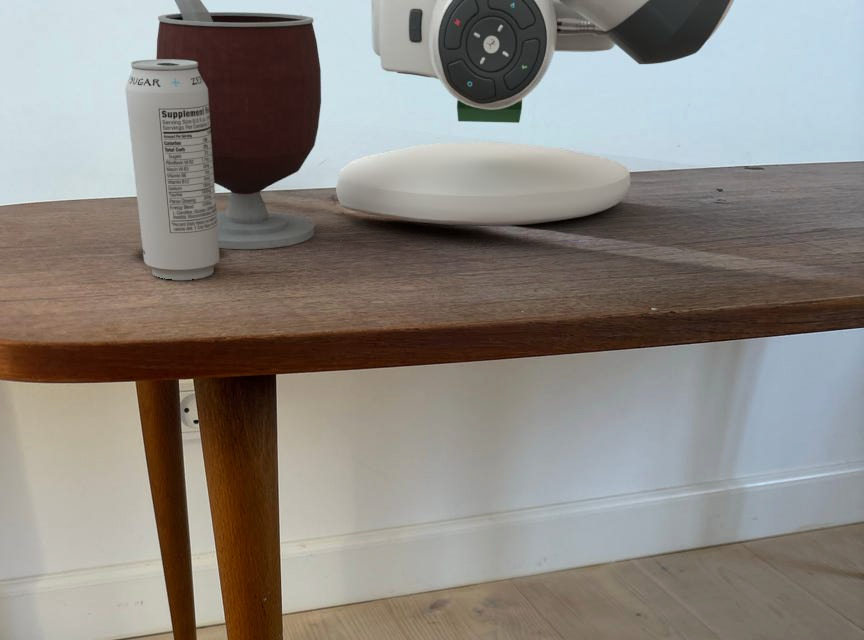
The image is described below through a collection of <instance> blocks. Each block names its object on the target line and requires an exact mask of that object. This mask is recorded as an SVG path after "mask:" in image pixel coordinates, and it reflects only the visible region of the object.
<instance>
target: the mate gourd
mask: <svg viewBox="0 0 864 640" xmlns="http://www.w3.org/2000/svg"><path fill="white" fill-rule="evenodd" d="M174 2H175V4H176V6H177V9H178V11H179V13H178V12H177V13H169V14H161V15H158V17H157V19H158V21H159V22H158V29H157V30H158V31H157V38H156V59H174V60H189V61H195V62H197V63H198V66H197V69H198V72H199V74H200V75H201V77H202V79H203V81H204V83H205V84H206V86H207V88H208V100H209V114H210V128H211V143H212V157H213V171H214V184H216V185H218V186H220V187H222V188H224V189H226V190H227V191H229V192H230V198H229V200H228V204H227V206H226V210H225V211H224V210H223V211H216V214H217V229H218V243H219V249H227V250H263V249H264V250H265V249H275V248H281V247H282V248H283V247H287V246H292V245H298V244H301V243H304V242H306V241H309V240H310V239H311V238H313V237H314V235H315V222H313V221H312V220H311V219H309V218H307V217H304V216H301V215H298V214H294V213H290V212H289V213H288V212H282V211H273V210H268V209H267V207H266V204H265V202H264V199H263V197H262V194H261V191H263V190H264V189H266V188H268V187H270V186H272V185H273V184H277V183H278V182H280V181H282V180H284V179H286V178H288V177H290V176H292V175H294V174H295V173H298V172H299V171H300V169H301V168H302V166H303V165H304V163H305V162H306V160H307V158H308V157H309V155H310V154H311V152H312V151H313V149H314V147H315V145H316V140H317V136H318V131H319V123H320V115H321V107H322V71H321V70H322V69H321V62H320V57H319V56H320V55H319V49H318V41H317V37H316V33H315V28H314V24H313V23H314V18H313V17H312V16H306V15H300V14H289V13H273V12H238V11H237V12H235V11H211V12H210V11H209V9H208V8H207V7H206V6H205V5H204V3H203V2H202V0H174Z"/></svg>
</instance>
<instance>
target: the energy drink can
mask: <svg viewBox="0 0 864 640" xmlns="http://www.w3.org/2000/svg"><path fill="white" fill-rule="evenodd" d="M130 66H131V72H130V75H129V78H128V80H127V83H126V86H125V88H124V89H125V98H126V99H125V100H126V106H127V108H126V109H127V117H128V125H129V136H130V145H131V153H132V155H131V156H132V162H133V172H134V181H135V192H136V200H137V207H138V208H137V209H138V218H139V227H140V236H141V245H142V247H141V248H142V257H143V262H144V264H145V265H146V266H148V267H149V268H150V269H151V274H152V275H153V276H154V275H155V276H154V277H156V276H157V277H156V278H158V277H160V278H159V279H161V278H163V279H162V280H166V279H172V280H171V281H192V279H194V280H199V279H200V280H201V279H204V278H207V277H210V276H211V275H213V274H214V272H215V271H214V270H215V269H214V267H215V266H216V265H217V264H218V263H219V262H220V258H221V257H220V248H219V243H218V229H217V214H216V212H217V203H216V202H217V201H216V188H215V187H216V186H215V183H214V171H213V157H212V143H211V128H210V114H209V100H208V88H207V86H206V84H205V83H204V81H203V79H202V77H201V75H200V74H199V72H198V69H197V66H198V63H197V62H195V61H189V60H174V59H140V60H134V61H131V62H130ZM164 278H165V279H164Z"/></svg>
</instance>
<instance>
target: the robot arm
mask: <svg viewBox="0 0 864 640" xmlns="http://www.w3.org/2000/svg"><path fill="white" fill-rule="evenodd" d="M734 2H735V0H371V5H370V6H371V8H370V9H371V11H370V13H371V14H370V15H371V16H370V24H371V25H370V27H371V34H370V35H371V48H372V50H373V52H374V54H375V55H377V56H378V57H379V58H380V66H381V69H382V70H384V71H385V72H392V73H393V72H394V73H397V74H403V75H411V76H419V77H424V78H433V79H437V80H439V81H440V83H441V84H442V85H443V87H444V88H445V89H446V90H447V92H448V93H449V94H450V95H451V96H452V97H453V98H455V99H456V100H457V99H458V100H459V101H461V102H462V103H464V104H466V105H469V106H472V107H476V108H481V109H490V110H494V109H502V108H505V107H509V106H511V105H513V104H515V103H517V102H518V101H520V100H522V101H523V99H525V98H526V97H527V96H528V95H529V94H531V93H532V91H534V90H535V89H536V88H537V86H538V85H539V84H540V83H541V81H542V80H543V78H544V77H545V75H546V74H547V71H548V70H549V67H550V65H551V63H552V61H553V58H554V55H555V52H567V53H568V52H569V53H573V52H574V53H592V52H593V53H594V52H605V51H609V50H612V49H614V47H615V46H617V47H618V48H619V49H620V50H621V51H623V52H624V53H625V54H626V55H628V56H629V57H630V58H631V59H632V60H633V61H634V62H636V63H637V64H638V65H656V64H663V63H668V62H672V61H673V62H674V61H678V60H680V59H684V58H686V57H689V56H693V55H695V54H697V53H698V52H699V51H700V50H701V49H702V48H703V47H704V45H706V42H708V41H709V39H710V38H712V36H713V35H714V34H715V33H716V31H717V30H718V29H719V27H720V26H721V24H722V23H723V22H724V20H725V18H726V17H727V15H728V13H729V12H730V10H731V8H732V6H733V4H734Z"/></svg>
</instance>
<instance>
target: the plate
mask: <svg viewBox="0 0 864 640" xmlns="http://www.w3.org/2000/svg"><path fill="white" fill-rule="evenodd" d="M630 187H631V173H630V171H629V169H628V168H627V166H625V165H624V164H622V163H620V162H617V161H615V160H613V159H610V158H607V157H604V156H603V157H602V156H597V155H592V154H588V153H584V152H579V151H575V150H574V151H573V150H569V149H565V148H560V147H552V146H544V145H535V144H528V143H515V142H500V141H499V142H497V141H479V142H478V141H477V142H476V141H471V142H469V141H468V142H438V143H430V144H420V145H413V146H409V147H408V146H407V147H404V148H403V147H402V148H399V149H394V150H389V151H384V152H379V153H373V154H370V155H366V156H362V157H359V158H357V159H354V160H352V161H350V162H348V163H347V164H346V165H345V166H343V167H342V168H341V169H340V171H339V174H338V178H337V181H336V185H335V192H336V197H337V200H338V202H339V205H340V206H341V207H342V208H344V209H346V210H349V211H353V212H356V213H361V214H364V215H370V216H375V217H379V218H387V219H394V220H402V221H410V222H418V223H425V224H426V223H427V224H435V225H436V224H437V225H449V226H463V227H465V226H466V227H468V226H469V227H471V226H472V227H513V226H526V225H527V226H528V225H536V224H537V225H538V224H543V223H550V222H557V221H562V220H571V219H577V218H582V217H587V216H590V215H594V214H597V213H600V212H604V211H606V210H608V209H610V208H612V207H614V206H616V205H618V204H620V202H621V201H622V200H623V199H625V198H626V196H627V195H628V192H629V190H630Z"/></svg>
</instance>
